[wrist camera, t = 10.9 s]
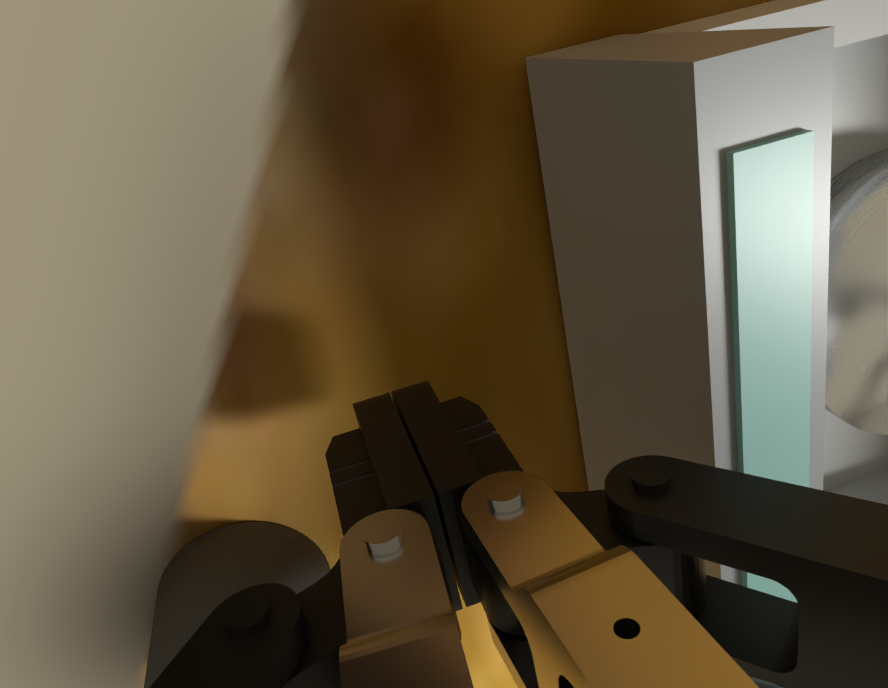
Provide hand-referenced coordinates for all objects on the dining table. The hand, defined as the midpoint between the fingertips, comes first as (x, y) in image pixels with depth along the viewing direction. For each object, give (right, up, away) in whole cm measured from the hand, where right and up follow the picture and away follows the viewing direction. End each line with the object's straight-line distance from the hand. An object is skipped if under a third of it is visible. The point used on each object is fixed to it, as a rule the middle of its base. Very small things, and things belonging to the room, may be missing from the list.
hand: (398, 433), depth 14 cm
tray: (+11, +4, +4) cm, 12 cm away
